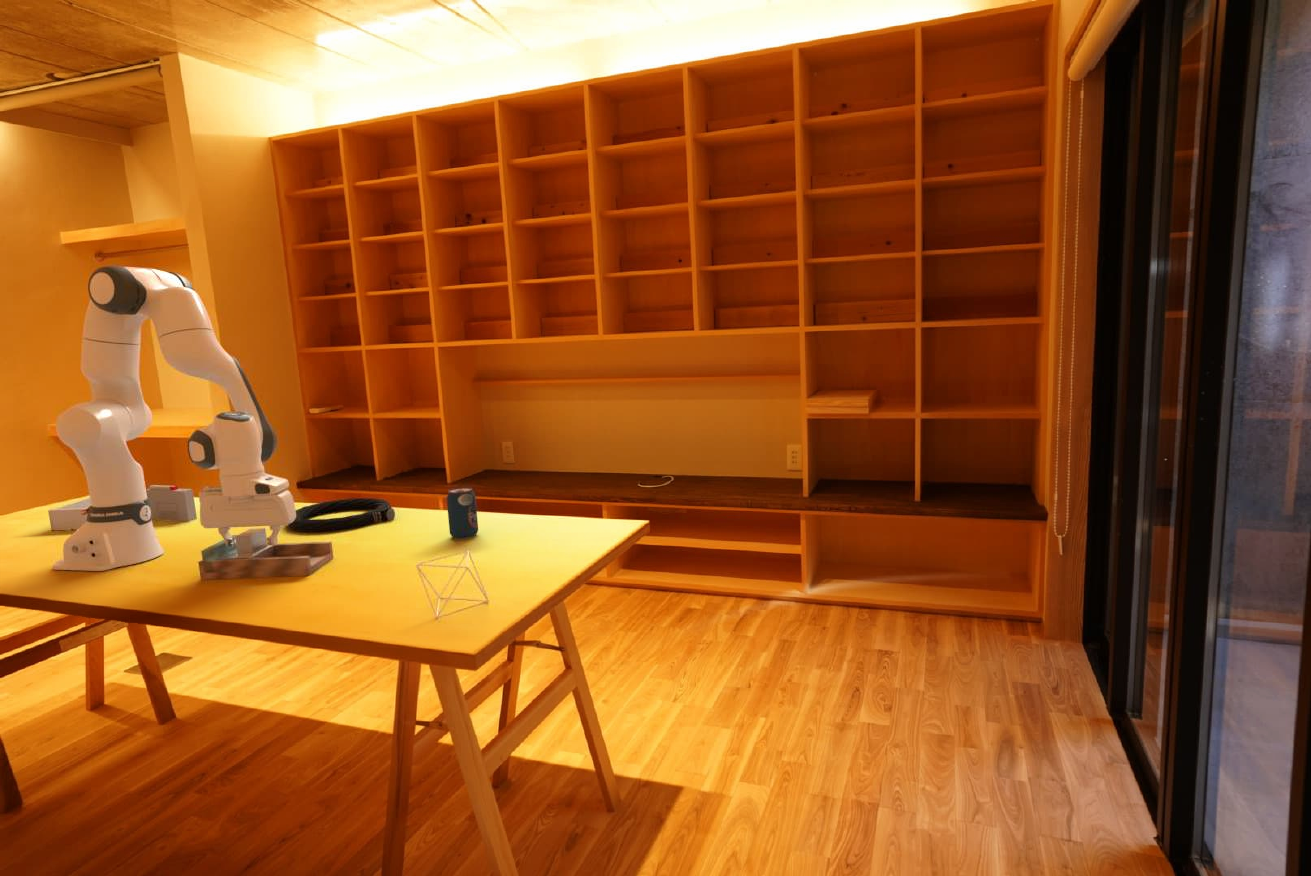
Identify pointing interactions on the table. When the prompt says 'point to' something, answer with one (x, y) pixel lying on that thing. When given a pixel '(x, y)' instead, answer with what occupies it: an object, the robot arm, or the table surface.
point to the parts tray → (69, 515)
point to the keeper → (250, 546)
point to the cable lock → (378, 514)
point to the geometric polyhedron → (449, 581)
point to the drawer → (266, 561)
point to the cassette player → (171, 503)
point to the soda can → (462, 513)
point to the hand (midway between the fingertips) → (252, 545)
